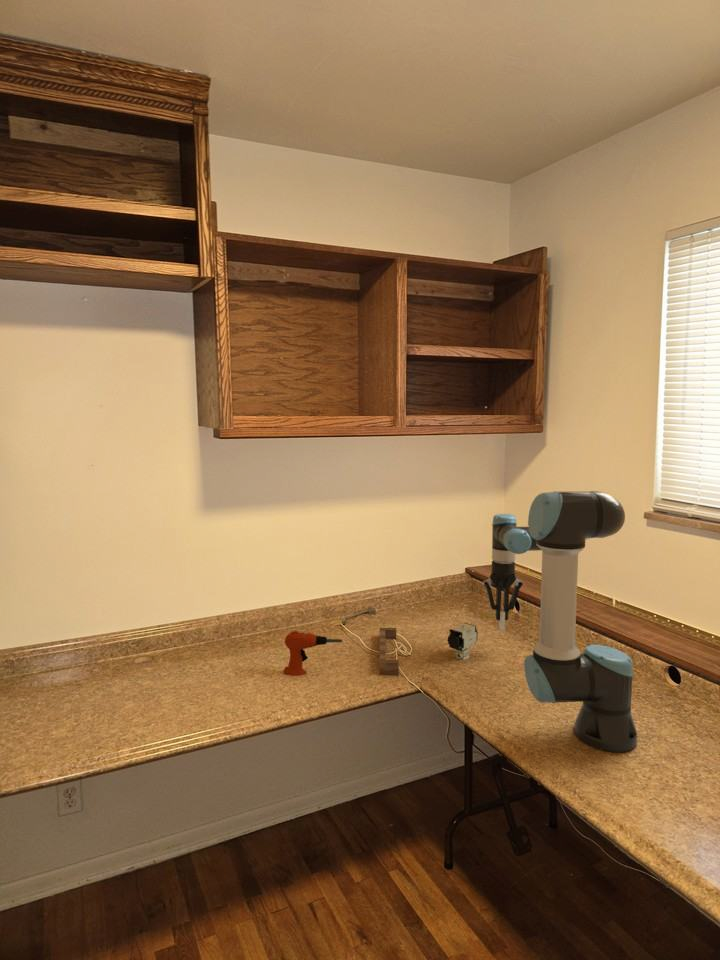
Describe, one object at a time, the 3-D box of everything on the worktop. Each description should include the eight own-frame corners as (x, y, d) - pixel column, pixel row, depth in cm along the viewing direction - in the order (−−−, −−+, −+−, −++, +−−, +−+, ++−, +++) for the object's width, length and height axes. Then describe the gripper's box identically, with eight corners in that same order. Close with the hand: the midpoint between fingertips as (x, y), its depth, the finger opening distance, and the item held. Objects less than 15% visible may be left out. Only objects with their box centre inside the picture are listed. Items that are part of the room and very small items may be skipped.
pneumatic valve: (446, 662, 199) (447, 627, 197) (466, 651, 207) (466, 618, 206) (460, 666, 195) (461, 631, 194) (479, 655, 203) (480, 622, 202)
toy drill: (342, 681, 185) (341, 634, 183) (282, 679, 186) (281, 633, 185) (343, 674, 190) (343, 628, 188) (285, 673, 191) (284, 628, 189)
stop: (398, 677, 187) (398, 662, 187) (379, 677, 187) (379, 662, 187) (396, 641, 217) (396, 627, 216) (379, 640, 217) (379, 627, 217)
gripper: (520, 557, 201) (518, 625, 204) (481, 557, 201) (480, 624, 204) (526, 563, 193) (523, 633, 196) (485, 563, 194) (483, 633, 197)
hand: (501, 629), depth 200 cm, fingers closed
